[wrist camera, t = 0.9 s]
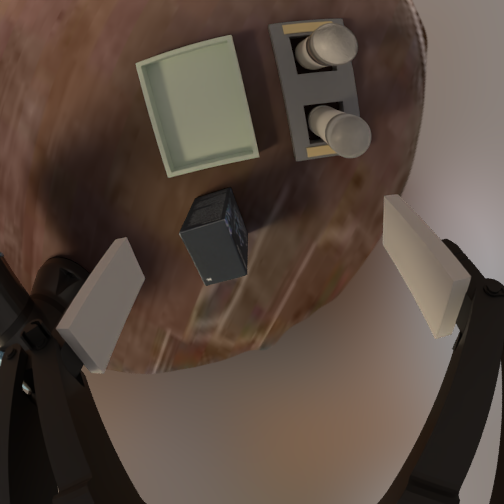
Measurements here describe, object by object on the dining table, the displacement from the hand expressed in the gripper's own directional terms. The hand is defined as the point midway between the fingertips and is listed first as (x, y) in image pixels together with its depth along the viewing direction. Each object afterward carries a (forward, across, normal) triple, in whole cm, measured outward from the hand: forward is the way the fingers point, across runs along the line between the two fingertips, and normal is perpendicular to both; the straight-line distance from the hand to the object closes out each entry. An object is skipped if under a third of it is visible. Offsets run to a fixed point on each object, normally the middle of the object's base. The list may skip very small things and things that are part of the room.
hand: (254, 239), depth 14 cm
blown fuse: (+26, +9, +10) cm, 30 cm away
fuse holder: (+26, +9, +6) cm, 28 cm away
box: (+26, -7, -10) cm, 29 cm away
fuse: (+26, +9, +1) cm, 28 cm away
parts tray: (+26, -6, +6) cm, 27 cm away
